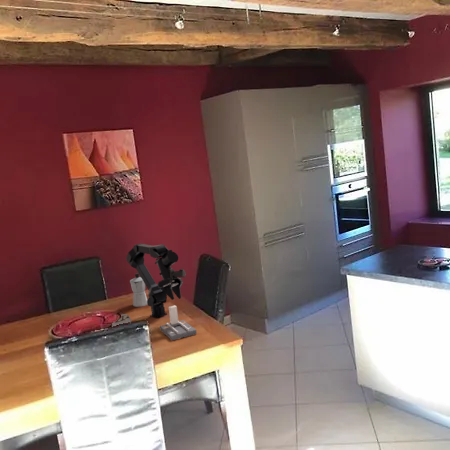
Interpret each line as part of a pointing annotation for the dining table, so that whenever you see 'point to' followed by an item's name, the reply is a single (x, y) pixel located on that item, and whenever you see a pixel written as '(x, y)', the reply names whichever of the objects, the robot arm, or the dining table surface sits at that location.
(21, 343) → the dining table surface
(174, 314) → the fader
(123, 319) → the food container
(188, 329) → the grey slider track base
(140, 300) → the coffee maker
